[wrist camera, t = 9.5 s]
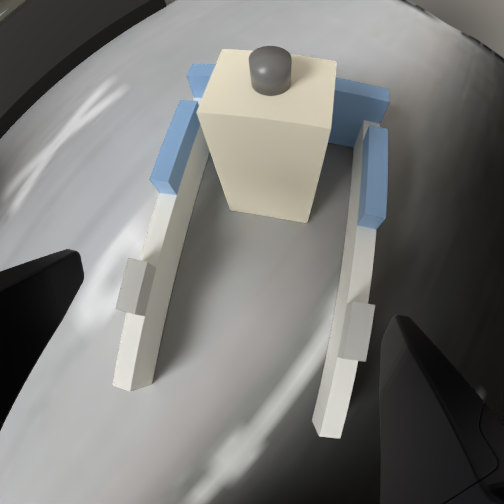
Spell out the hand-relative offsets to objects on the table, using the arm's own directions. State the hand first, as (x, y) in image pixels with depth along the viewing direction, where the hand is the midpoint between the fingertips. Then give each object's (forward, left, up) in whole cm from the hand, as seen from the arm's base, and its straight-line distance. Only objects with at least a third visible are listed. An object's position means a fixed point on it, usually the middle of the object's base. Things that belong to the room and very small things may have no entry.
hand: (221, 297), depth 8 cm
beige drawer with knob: (+6, -4, -9) cm, 12 cm away
